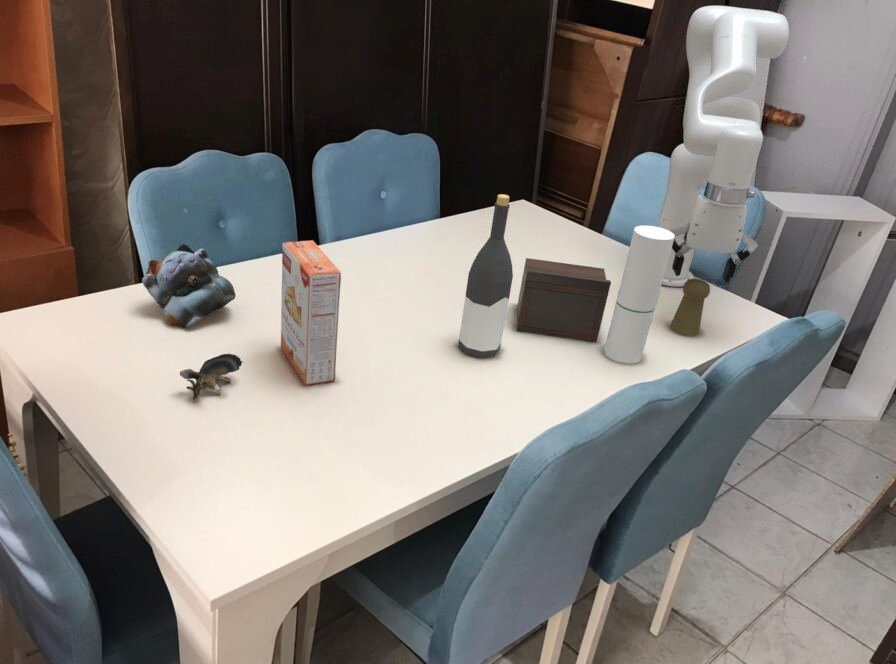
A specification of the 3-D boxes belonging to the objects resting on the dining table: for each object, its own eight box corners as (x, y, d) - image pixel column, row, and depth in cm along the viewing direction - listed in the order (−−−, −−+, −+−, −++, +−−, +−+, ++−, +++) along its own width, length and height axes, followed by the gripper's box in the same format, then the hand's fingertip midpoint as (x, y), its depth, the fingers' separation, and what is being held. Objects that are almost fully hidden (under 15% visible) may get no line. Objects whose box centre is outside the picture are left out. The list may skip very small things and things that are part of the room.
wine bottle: (476, 334, 165) (500, 185, 150) (508, 350, 161) (536, 198, 146) (449, 346, 160) (470, 193, 145) (481, 363, 156) (507, 206, 140)
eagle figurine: (221, 404, 134) (252, 372, 140) (196, 368, 131) (228, 337, 137) (192, 412, 139) (223, 380, 145) (167, 378, 136) (199, 347, 142)
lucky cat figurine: (172, 335, 155) (139, 264, 151) (161, 331, 166) (130, 265, 162) (245, 301, 159) (214, 232, 156) (230, 299, 170) (201, 235, 166)
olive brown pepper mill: (700, 338, 173) (716, 289, 167) (670, 333, 174) (685, 284, 168) (697, 325, 178) (712, 277, 172) (668, 321, 179) (682, 273, 173)
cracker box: (278, 348, 154) (280, 240, 143) (309, 345, 156) (314, 238, 145) (302, 387, 143) (307, 273, 132) (335, 382, 145) (343, 270, 135)
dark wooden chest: (517, 306, 179) (527, 248, 172) (592, 316, 177) (606, 259, 171) (516, 330, 169) (527, 270, 162) (596, 342, 167) (611, 282, 161)
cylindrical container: (642, 350, 166) (675, 230, 153) (639, 366, 160) (673, 242, 147) (605, 342, 167) (635, 222, 155) (601, 358, 161) (632, 234, 149)
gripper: (766, 194, 163) (740, 276, 172) (676, 182, 165) (654, 264, 173) (776, 205, 157) (749, 289, 165) (682, 193, 158) (659, 277, 167)
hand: (700, 276), depth 169 cm, fingers open, 9 cm apart
